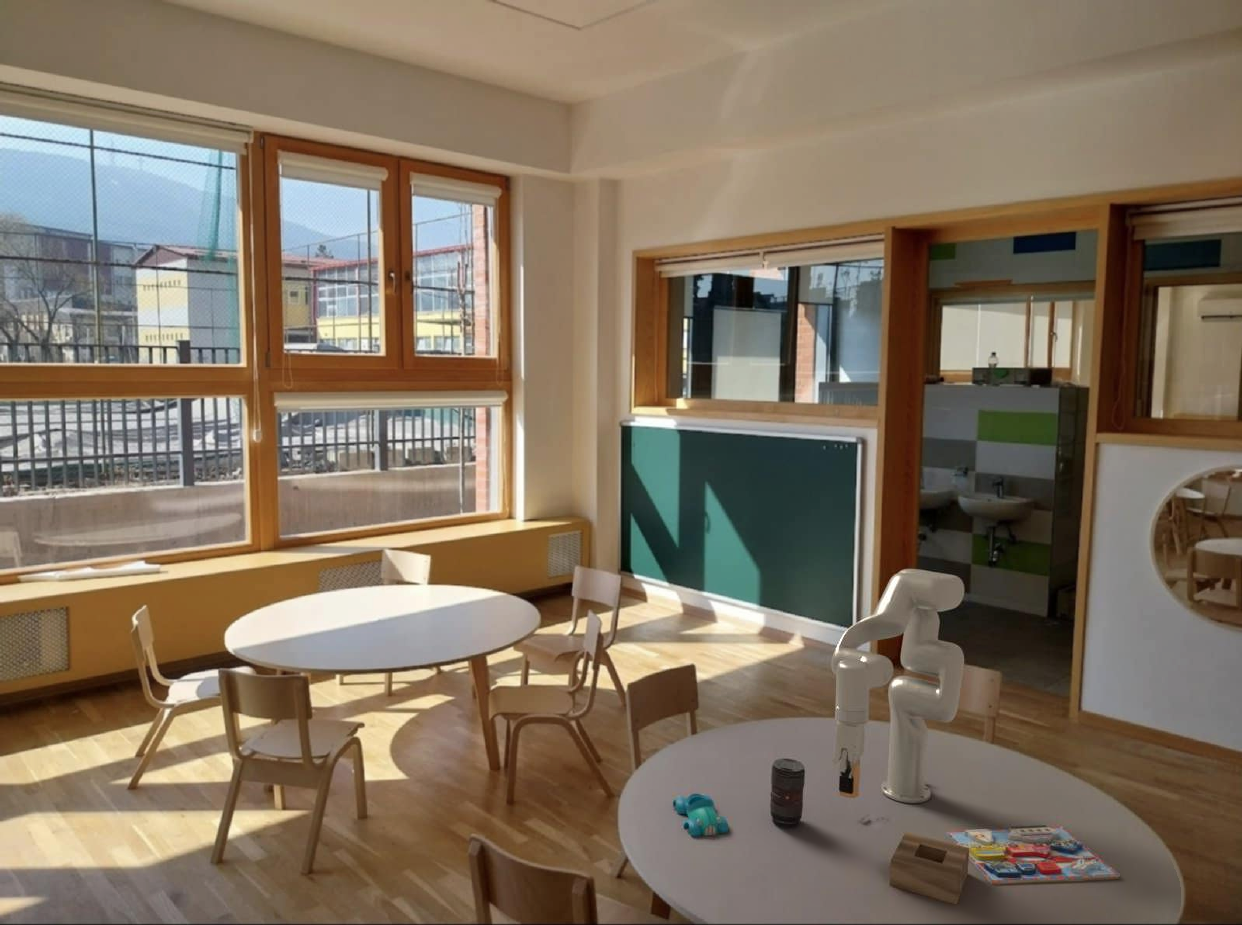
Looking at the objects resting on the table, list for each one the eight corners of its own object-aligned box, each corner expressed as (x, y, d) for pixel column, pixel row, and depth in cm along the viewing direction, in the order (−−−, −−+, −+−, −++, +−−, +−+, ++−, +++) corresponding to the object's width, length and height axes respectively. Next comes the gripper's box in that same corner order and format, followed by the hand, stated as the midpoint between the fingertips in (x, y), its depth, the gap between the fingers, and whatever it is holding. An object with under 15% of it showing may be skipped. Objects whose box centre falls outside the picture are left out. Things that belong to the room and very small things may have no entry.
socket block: (904, 856, 215) (905, 831, 214) (967, 873, 208) (969, 848, 208) (889, 885, 203) (891, 859, 202) (956, 904, 196) (958, 877, 195)
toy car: (689, 839, 222) (689, 812, 221) (668, 804, 239) (669, 779, 238) (731, 834, 224) (732, 808, 223) (708, 800, 241) (709, 776, 241)
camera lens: (802, 831, 225) (805, 773, 224) (768, 828, 227) (771, 769, 225) (802, 816, 233) (805, 759, 232) (770, 812, 235) (772, 755, 233)
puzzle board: (1061, 830, 230) (1062, 820, 230) (1120, 881, 207) (1121, 870, 207) (944, 834, 227) (944, 824, 226) (990, 887, 204) (991, 876, 204)
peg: (842, 787, 221) (843, 755, 220) (860, 791, 219) (861, 759, 218) (837, 795, 217) (838, 762, 216) (855, 799, 215) (856, 766, 214)
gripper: (846, 698, 224) (843, 769, 227) (825, 722, 210) (822, 798, 212) (877, 704, 221) (874, 776, 223) (858, 729, 206) (855, 807, 209)
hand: (849, 786), depth 218 cm, fingers closed on peg, 4 cm apart
